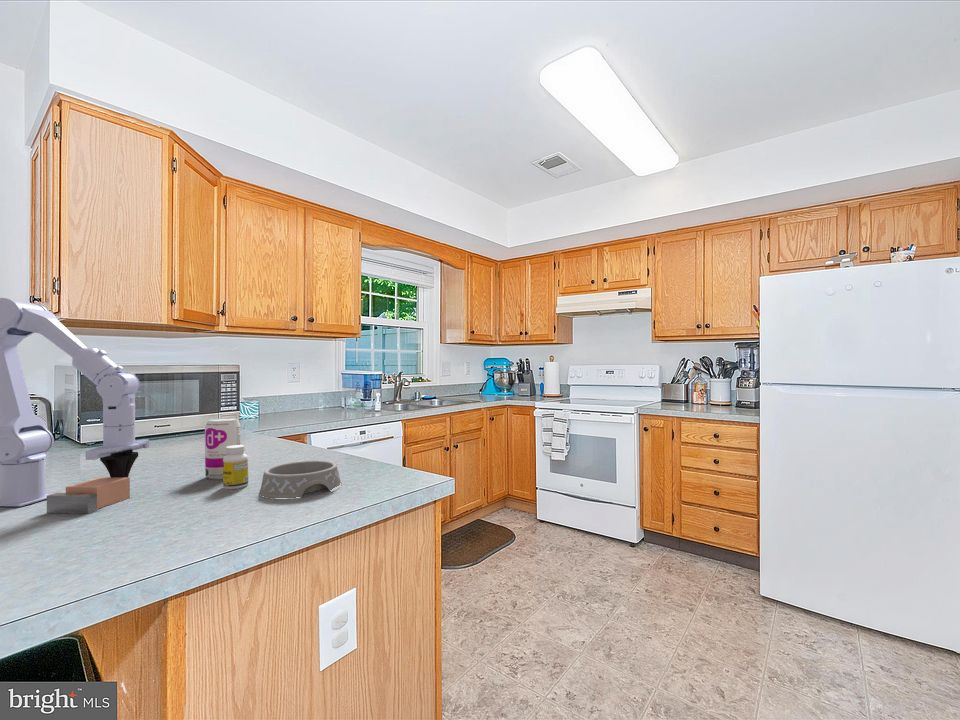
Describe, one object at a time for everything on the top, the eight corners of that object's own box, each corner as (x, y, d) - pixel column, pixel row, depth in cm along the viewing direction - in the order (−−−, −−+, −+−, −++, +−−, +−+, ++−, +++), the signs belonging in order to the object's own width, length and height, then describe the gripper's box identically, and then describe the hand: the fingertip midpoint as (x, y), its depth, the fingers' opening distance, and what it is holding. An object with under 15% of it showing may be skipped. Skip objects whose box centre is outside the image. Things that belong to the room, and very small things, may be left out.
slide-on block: (65, 508, 95) (65, 486, 95) (100, 497, 103) (100, 477, 103) (97, 509, 95) (96, 487, 95) (129, 497, 103) (129, 477, 103)
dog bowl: (249, 489, 109) (249, 467, 109) (323, 476, 122) (323, 456, 122) (273, 505, 97) (273, 480, 97) (354, 489, 109) (353, 466, 109)
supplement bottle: (219, 487, 111) (219, 446, 111) (243, 482, 115) (243, 443, 115) (227, 491, 107) (227, 449, 107) (251, 486, 111) (251, 445, 111)
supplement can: (225, 480, 117) (225, 421, 117) (197, 479, 119) (197, 421, 119) (247, 473, 125) (247, 418, 125) (221, 471, 127) (221, 417, 127)
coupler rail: (46, 513, 92) (46, 495, 92) (104, 494, 105) (104, 479, 105) (87, 513, 92) (87, 496, 92) (141, 495, 105) (141, 479, 105)
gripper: (107, 430, 97) (107, 494, 97) (160, 421, 111) (161, 477, 111) (76, 430, 97) (76, 494, 97) (133, 421, 112) (133, 477, 112)
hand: (119, 485), depth 104 cm, fingers closed
